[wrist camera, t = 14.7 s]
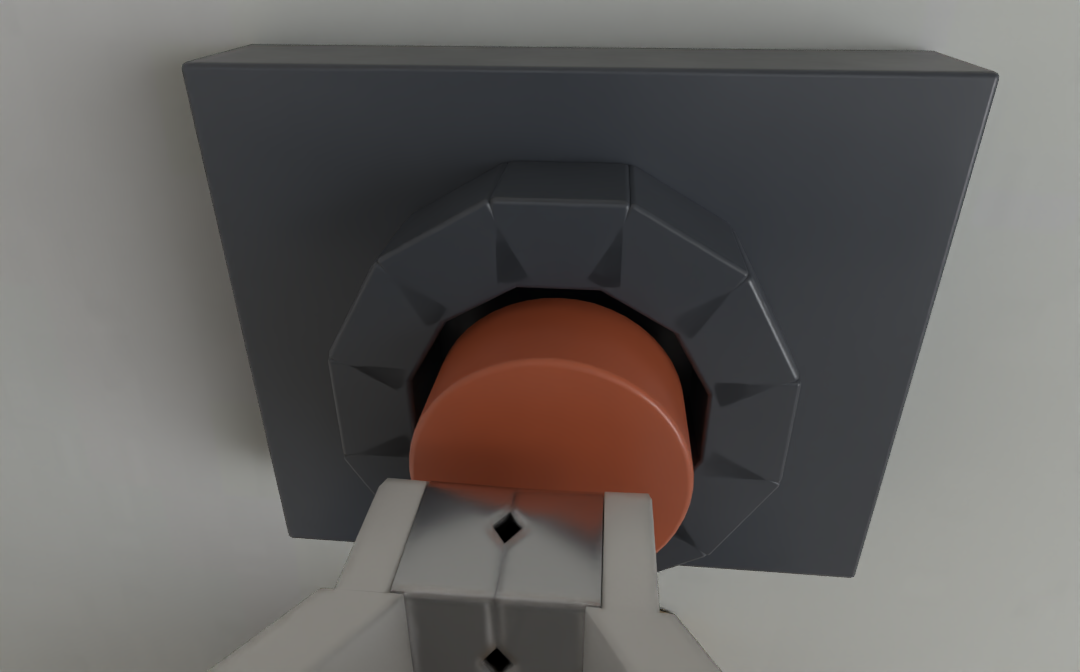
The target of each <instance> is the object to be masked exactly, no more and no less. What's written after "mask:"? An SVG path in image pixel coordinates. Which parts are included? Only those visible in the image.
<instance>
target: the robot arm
mask: <svg viewBox="0 0 1080 672" xmlns="http://www.w3.org/2000/svg"><path fill="white" fill-rule="evenodd" d="M207 672H722V671H721V670H720V669H719V667H718V666H717V665H716V664H715V662H714V661H713V660H712V659H711V658H710V656H709V655H708V654H707V653H706V652H705V650H704V649H703V648H702V647H701V645H700V644H699V643H698V642H697V641H696V639H695V638H694V637H693V636H692V635H691V633H690V632H689V631H688V630H687V628H686V627H685V626H684V625H683V624H682V622H681V621H680V620H679V619H678V618H677V616H676V615H675V614H669V613H660V607H659V593H658V579H657V564H656V550H655V536H654V521H653V507H652V499H651V497H650V495H649V494H648V493H623V492H605V493H604V497H603V492H584V491H566V490H547V489H528V488H512V487H500V486H489V485H477V484H465V483H453V482H441V481H431V482H428V481H419V480H407V479H395V478H387V479H386V480H385V481H384V482H383V483H382V484H381V485H380V486H379V488H378V490H377V492H376V495H375V497H374V499H373V501H372V504H371V506H370V508H369V511H368V513H367V515H366V517H365V520H364V522H363V524H362V527H361V529H360V531H359V534H358V536H357V538H356V540H355V543H354V545H353V547H352V550H351V552H350V554H349V556H348V559H347V561H346V563H345V566H344V568H343V570H342V572H341V575H340V577H339V579H338V582H337V584H336V586H335V589H331V588H320V589H318V590H317V591H316V592H314V593H313V594H312V595H310V596H309V597H308V598H306V599H305V600H303V601H302V602H301V603H299V604H298V605H297V606H295V607H294V608H293V609H291V610H290V611H288V612H287V613H286V614H284V615H283V616H282V617H280V618H279V619H278V620H276V621H275V622H273V623H272V624H271V625H269V626H268V627H267V628H265V629H264V630H263V631H261V632H260V633H258V634H257V635H256V636H254V637H253V638H252V639H250V640H249V641H248V642H246V643H245V644H243V645H242V646H241V647H239V648H238V649H237V650H235V651H234V652H233V653H231V654H230V655H228V656H227V657H226V658H224V659H223V660H222V661H220V662H219V663H218V664H216V665H215V666H213V667H212V668H211V669H209V670H208V671H207Z"/></svg>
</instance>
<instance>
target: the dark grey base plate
mask: <svg viewBox="0 0 1080 672" xmlns="http://www.w3.org/2000/svg"><path fill="white" fill-rule="evenodd" d="M182 72H183V76H184V81H185V85H186V89H187V94H188V98H189V102H190V107H191V111H192V115H193V120H194V124H195V129H196V133H197V137H198V142H199V146H200V150H201V155H202V159H203V163H204V168H205V172H206V176H207V181H208V185H209V189H210V194H211V198H212V203H213V207H214V211H215V216H216V220H217V224H218V229H219V233H220V237H221V242H222V246H223V250H224V255H225V259H226V263H227V268H228V272H229V277H230V281H231V285H232V290H233V294H234V298H235V303H236V307H237V311H238V316H239V320H240V324H241V329H242V333H243V337H244V342H245V346H246V351H247V355H248V359H249V364H250V368H251V372H252V377H253V381H254V385H255V390H256V394H257V398H258V403H259V407H260V411H261V416H262V420H263V425H264V429H265V433H266V438H267V442H268V446H269V451H270V455H271V459H272V464H273V468H274V472H275V477H276V481H277V485H278V490H279V494H280V499H281V503H282V507H283V512H284V516H285V520H286V525H287V529H288V533H289V536H290V537H292V538H305V539H319V540H333V541H347V542H355V540H356V538H357V536H358V534H359V531H360V529H361V527H362V524H363V522H364V520H365V517H366V515H367V513H368V511H369V508H370V506H371V504H372V501H373V499H374V497H375V495H376V492H377V490H378V488H379V486H380V485H381V484H382V483H383V482H384V481H385V480H386V479H387V478H395V479H407V480H411V477H410V472H409V453H410V445H411V440H412V437H413V434H414V431H415V428H416V425H417V423H418V420H419V418H420V416H421V413H422V411H423V409H424V406H425V404H426V402H427V399H428V397H429V395H430V392H431V390H432V388H433V385H434V383H435V380H436V378H437V376H438V373H439V371H440V369H441V366H442V364H443V362H444V360H445V358H446V356H447V354H448V352H449V350H450V349H451V347H452V346H453V345H454V343H455V342H456V340H457V339H458V338H459V337H460V336H461V335H462V334H463V333H464V332H465V331H466V330H467V329H468V328H469V327H470V326H472V325H473V324H474V323H476V322H477V321H478V320H479V319H481V318H483V317H485V316H486V315H488V314H490V313H492V312H493V311H496V310H498V309H501V308H503V307H505V306H508V305H511V304H515V303H519V302H522V301H526V300H533V299H540V298H567V299H577V300H581V301H586V302H591V303H595V304H598V305H600V306H603V307H606V308H609V309H611V310H613V311H615V312H617V313H619V314H622V315H624V316H626V317H627V318H629V319H630V320H632V321H633V322H635V323H636V324H638V325H639V326H641V327H642V328H643V329H644V330H645V331H647V332H648V333H649V334H650V335H651V336H652V337H653V338H654V339H655V340H656V341H657V342H658V343H659V344H660V345H661V347H662V348H663V349H664V350H665V352H666V353H667V355H668V356H669V358H670V359H671V361H672V363H673V365H674V367H675V369H676V371H677V373H678V376H679V379H680V383H681V386H682V390H683V397H684V404H685V411H686V419H687V426H688V433H689V440H690V447H691V454H692V462H693V470H694V487H693V493H692V498H691V502H690V505H689V508H688V510H687V513H686V515H685V518H684V520H683V521H682V523H681V525H680V526H679V528H678V530H677V531H676V533H675V534H674V535H673V537H672V538H671V539H670V540H669V541H668V543H667V544H666V545H665V546H664V547H663V548H662V549H660V550H659V551H658V552H657V553H656V564H657V572H659V571H662V570H665V569H668V568H671V567H675V566H678V565H681V566H694V567H708V568H722V569H736V570H750V571H764V572H778V573H792V574H806V575H820V576H833V577H847V578H851V577H854V576H855V572H856V569H857V566H858V562H859V559H860V555H861V552H862V548H863V545H864V541H865V538H866V535H867V531H868V528H869V524H870V521H871V517H872V514H873V511H874V507H875V504H876V500H877V497H878V493H879V490H880V486H881V483H882V480H883V476H884V473H885V469H886V466H887V462H888V459H889V456H890V452H891V449H892V445H893V442H894V438H895V435H896V431H897V428H898V425H899V421H900V418H901V414H902V411H903V407H904V404H905V400H906V397H907V394H908V390H909V387H910V383H911V380H912V376H913V373H914V370H915V366H916V363H917V359H918V356H919V352H920V349H921V345H922V342H923V339H924V335H925V332H926V328H927V325H928V321H929V318H930V315H931V311H932V308H933V304H934V301H935V297H936V294H937V290H938V287H939V284H940V280H941V277H942V273H943V270H944V266H945V263H946V259H947V256H948V253H949V249H950V246H951V242H952V239H953V235H954V232H955V229H956V225H957V222H958V218H959V215H960V211H961V208H962V204H963V201H964V198H965V194H966V191H967V187H968V184H969V180H970V177H971V174H972V170H973V167H974V163H975V160H976V156H977V153H978V149H979V146H980V143H981V139H982V136H983V132H984V129H985V125H986V122H987V118H988V115H989V112H990V108H991V105H992V101H993V98H994V94H995V91H996V88H997V84H998V81H999V75H998V73H996V72H994V71H991V70H988V69H985V68H982V67H979V66H976V65H973V64H970V63H967V62H964V61H961V60H958V59H955V58H952V57H950V56H947V55H944V54H941V53H938V52H935V51H891V50H787V49H684V48H580V47H476V46H372V45H268V44H251V45H247V46H244V47H240V48H236V49H232V50H229V51H225V52H221V53H218V54H214V55H210V56H206V57H203V58H199V59H195V60H192V61H188V62H186V63H184V64H183V65H182Z"/></svg>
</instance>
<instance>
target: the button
mask: <svg viewBox="0 0 1080 672" xmlns="http://www.w3.org/2000/svg"><path fill="white" fill-rule="evenodd" d="M409 472H410V477H411V480H419V481H428V482H431V481H441V482H453V483H465V484H477V485H489V486H500V487H512V488H528V489H547V490H566V491H584V492H603V497H604V493H605V492H623V493H648V494H649V495H650V497H651V499H652V507H653V521H654V536H655V550H656V553H657V552H658V551H659V550H660V549H662V548H663V547H664V546H665V545H666V544H667V543H668V541H669V540H670V539H671V538H672V537H673V535H674V534H675V533H676V531H677V530H678V528H679V526H680V525H681V523H682V521H683V520H684V518H685V515H686V513H687V510H688V508H689V505H690V502H691V498H692V493H693V487H694V470H693V462H692V454H691V447H690V440H689V433H688V426H687V419H686V411H685V404H684V397H683V390H682V386H681V383H680V379H679V376H678V373H677V371H676V369H675V367H674V365H673V363H672V361H671V359H670V358H669V356H668V355H667V353H666V352H665V350H664V349H663V348H662V347H661V345H660V344H659V343H658V342H657V341H656V340H655V339H654V338H653V337H652V336H651V335H650V334H649V333H648V332H647V331H645V330H644V329H643V328H642V327H641V326H639V325H638V324H636V323H635V322H633V321H632V320H630V319H629V318H627V317H626V316H624V315H622V314H619V313H617V312H615V311H613V310H611V309H609V308H606V307H603V306H600V305H598V304H595V303H591V302H586V301H581V300H577V299H567V298H540V299H533V300H526V301H522V302H519V303H515V304H511V305H508V306H505V307H503V308H501V309H498V310H496V311H493V312H492V313H490V314H488V315H486V316H485V317H483V318H481V319H479V320H478V321H477V322H476V323H474V324H473V325H472V326H470V327H469V328H468V329H467V330H466V331H465V332H464V333H463V334H462V335H461V336H460V337H459V338H458V339H457V340H456V342H455V343H454V345H453V346H452V347H451V349H450V350H449V352H448V354H447V356H446V358H445V360H444V362H443V364H442V366H441V369H440V371H439V373H438V376H437V378H436V380H435V383H434V385H433V388H432V390H431V392H430V395H429V397H428V399H427V402H426V404H425V406H424V409H423V411H422V413H421V416H420V418H419V420H418V423H417V425H416V428H415V431H414V434H413V437H412V440H411V445H410V453H409Z"/></svg>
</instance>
